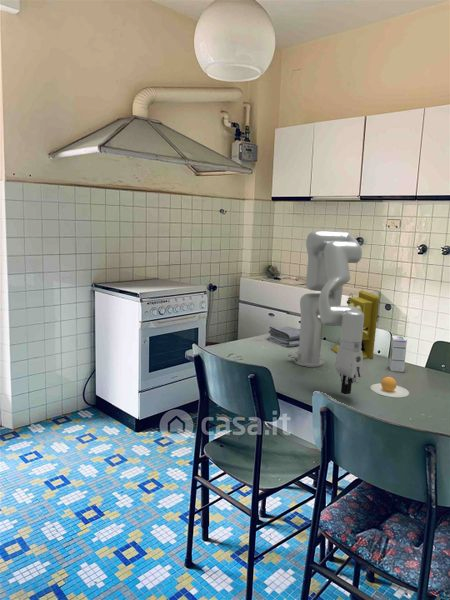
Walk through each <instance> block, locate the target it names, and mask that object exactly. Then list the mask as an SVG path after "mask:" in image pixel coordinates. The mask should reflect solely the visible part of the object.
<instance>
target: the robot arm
mask: <svg viewBox="0 0 450 600" xmlns="http://www.w3.org/2000/svg"><path fill="white" fill-rule="evenodd" d="M305 240H306V242H305V245H306V252H307V266H306V276H305V286H306V288H307V289H308V290H309V291H313V292H310V293H309V292H308V293H304V294H303V295H302V296H301V297H300V298H299V299H300V300H299V308H300V325H299V327H300V328H299V329H300V340H299V346H298V350H297V351H296V352H287V357H288V358H291V359H294V362H293V363H295V364H296V365H297V366H301V367H307V368H318V367H322V366H323V365H324V361H323V360H322V359H321V348H322V347H321V346H322V335H323V325H324V326H326V327H327V326H328V327H340V337H339V338H340V339H339V345H338V346H339V348H338V352H337V353H336V358H335V359H336V360H335V370H336V373H337V374H338V376H340V382H341V387H340V389H341V390H340V393H341V394H343V395H351V393H352V385H353V384H354V383H359V378H362V377H363V373H364V371H363V369H364V358H363V354H362V351H361V348H362V346H361V344H362V334H363V324H364V314H363V313H362V312H361V311H358V310H357V308H355V307H353V306H348V305H341V303H342V298H343V296H342V295H343V287H344V285H347V283H349V282H350V280H351V274H350V273H351V272H350V265H349V264H357V263H359V262H360V261H361V259H362V257H363V251H362V247H361V244H360V243H359V242H358V240H357V239H356V238H355V237H354V236H353V235H352V234H351V233H350V232H348V231H342V230H341V231H340V230H312V231H311V232H309V233H308V234H307V237H306V239H305ZM315 291H316V292H315Z"/></svg>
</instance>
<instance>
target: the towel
mask: <svg viewBox="0 0 450 600" xmlns="http://www.w3.org/2000/svg"><path fill="white" fill-rule="evenodd" d="M268 333H269V334H268V337H266V341H270V342H271V343H275V344H277V345H280V346H283V347H287V348H290V347H296V346H298V347H299V340H300V328H295V327H291V326H284V327H275V326H273V325H270V326H269V331H268Z"/></svg>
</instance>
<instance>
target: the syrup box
mask: <svg viewBox="0 0 450 600" xmlns="http://www.w3.org/2000/svg"><path fill="white" fill-rule="evenodd" d="M390 339H391V340H390V348H389V349H390V351H389V361H388V369H389V370H390V371H392V372H396V373H397V372H400V373H404V372H405V363H406V353H407V343H408V339H406V337H405V336H402V335H391V338H390Z"/></svg>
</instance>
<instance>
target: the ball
mask: <svg viewBox="0 0 450 600" xmlns="http://www.w3.org/2000/svg"><path fill="white" fill-rule="evenodd" d="M380 383H381V386H382V388H383V389H384V390H385V391H393V390H394V389H395V388H396V385H397V381H396V380H395V379H394V378H393V377H392V376H385V377H384V378H383V379H382V380H381V382H380ZM397 386H398V385H397Z"/></svg>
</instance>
